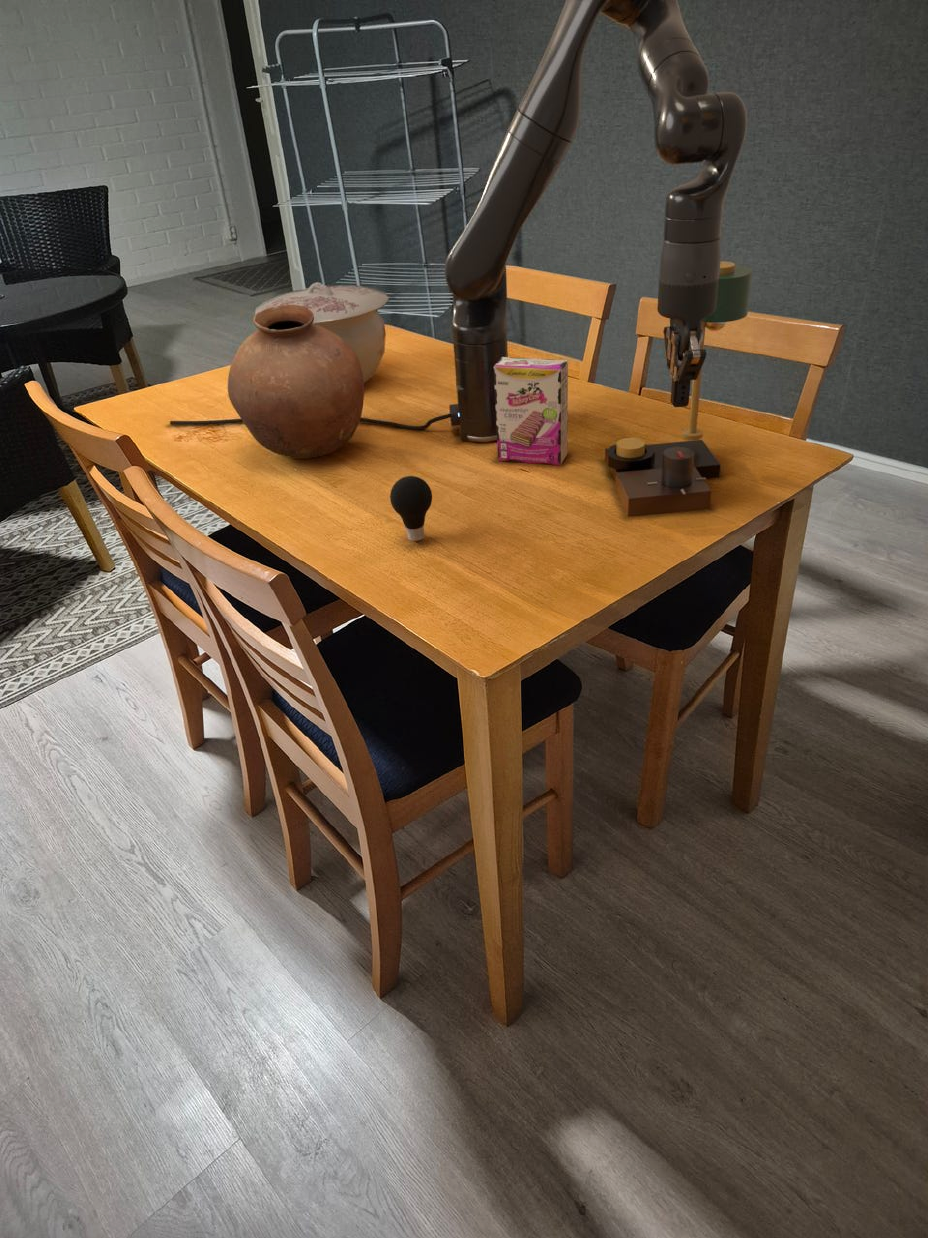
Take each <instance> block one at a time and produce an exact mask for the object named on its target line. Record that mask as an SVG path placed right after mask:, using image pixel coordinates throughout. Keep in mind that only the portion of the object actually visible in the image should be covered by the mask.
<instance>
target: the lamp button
mask: <svg viewBox="0 0 928 1238" xmlns="http://www.w3.org/2000/svg"><path fill="white" fill-rule="evenodd" d="M615 444H616V455H618V456H620V457H625V458H637V457H641V456H643V455H644V454H645V444H646V441H644V440H643V439H641V438H638V437H625V438H621V439H618V440H617V441H616V443H615Z"/></svg>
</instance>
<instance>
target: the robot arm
mask: <svg viewBox="0 0 928 1238" xmlns="http://www.w3.org/2000/svg"><path fill="white" fill-rule="evenodd" d="M600 14H601V15H603V16H605V17H607V18H608V19H609V20H611V21H612V22H614V23H616V24H617V25H620V26H623V27H625V28H627V29H628V30H629V31H630V32H631V33H632V34H633V35H634V37H636V39H637V40H638V41H639V45H638V49H637V55H636V58H637V59H636V64H637V71H638V75H639V77H640V80H641V82H642V85H643V87H644V89H645V91H646V93H647V95H648V98H649V99H650V102H651V106H652V113H653V123H654V124H653V126H654V127H653V128H654V129H653V137H654V138H653V139H654V148H655V151H656V153H657V155H658V156H659V158H661V160H663V161H664V162H665V163H668V164H670V165H675V166H676V165H677V166H681V165H690V164H698V163H703V166H702V167H701V170H700V171H699V174H698V175H697V176H696V177H695V178H694V179H692V180H689V181H688V182H686V183H683V184H680V185H677V186H676V187H674V188H671V189H670V191H669V192H668V193H667V195H666V198H665V206H664V223H663V239H662V246H661V251H660V257H659V258H660V259H659V274H658V290H657V291H658V292H657V293H658V294H657V307H656V309H657V313H658V314H659V315H660V316H662V317H663V318H665V319H669V325H668V326H664V327H663V331H662V332H663V338H664V347H665V357H666V367H667V369H668V370H669V376H670V378H671V388H670V401H669V402H670V403H671V406H673V407H674V408H685V407H688V406H689V404H690V394H691V393H690V392H691V383H692V381H693V380H696V379H697V377H698V375H699V372H700V370H701V368H702V369H703V365H704V363H705V360H706V358H707V355H708V354H707V350H706V348H704V349H700V345H701V343H702V341H703V329H701V323H700V322H701V320H702V319H703V318H705V317H708V316H710V315H712V314H713V313H714V312H715V310H716V304H717V294H718V283H719V273H720V262H721V260H722V259H721V258H722V248H721V244H722V243H721V242H722V241H721V240H722V239H721V238H722V228H723V218H724V208H725V207H724V206H725V201H726V197H727V193H728V190H729V187H730V184H731V181H732V178H733V175H734V171H735V168H736V165H737V162H738V160H739V157H740V155H741V152H742V149H743V146H744V143H745V140H746V135H747V130H748V113H747V112H748V111H747V107H746V105H745V102H744V100H743V99H742V97H740V95H738V94H737V93H736V92H731V91H721V92H712V93H709V89H710V76H709V72H708V68H707V67H706V65H705V63H704V61H703V59H702V57H701V54H700V53H699V51H698V49H697V47H696V45H695V44H694V42H693V40H692V38H691V36H690V34H689V32H688V30H687V28H686V25H685V23H684V21H683V17H682V13H681V9H680V6H679V2H678V0H565V3H564V5H563V8H562V10H561V13H560V15H559V18H558V20H557V23H556V26H555V27H554V30H553V33H552V35H551V38H550V40H549V43H548V44H547V47H546V49H545V51H544V54H543V56H542V58H541V60H540V63H539V65H538V67H537V69H536V70H535V72H534V75H533V78H532V79H531V82H530V84H529V85H528V88H527V90H526V91H525V93H524V96H523V97H522V99H521V100H520V103H519V105H518V107H517V108H516V111H515V114H514V116H513V117H512V120H511V122H510V123H509V126H508V128H507V130H506V132H505V135H504V137H503V140H502V141H501V142H502V143H501V144H500V147H499V149H498V151H497V154H496V156H495V159H494V162H493V165H492V167H491V170H490V173H489V176H488V179H487V180H486V184H485V187H484V189H483V193H482V195H481V198H480V200H479V203H478V204H477V206H476V208H475V210H474V212H473V214H472V216H471V218H470V219H469V221H468V222H467V225H466V226H465V228H464V230H463V231H462V233H461V234H460V236H459V238H458V239H457V241H456V242H455V243H454V245H453V246H452V247H451V249H450V251H449V252H448V253H447V256H446V259H445V262H444V278H445V282H446V285H447V287H448V289H449V291H450V292H451V293H452V319H451V334H452V344H453V345H452V346H453V356H454V357H453V358H454V367H455V368H454V369H455V371H454V372H455V387H456V400H457V401H456V402H457V403H453V404H449V413H446V414H442V415H439V416H435V417H433V418H431V419H429V420H428V421H427V422H426V423H425V424H424V425H414V426H413V425H407V424H403V423H398V422H393V421H387V420H380V419H373V418H367V417H361V419H360V421H359V423H361V422H362V423H368V424H374V425H382V426H387V427H394V428H399V429H402V430H403V429H404V430H409V431H424V430H426V429H428V428H429V427H430V426H431V425H432V424H434V423H436V422H440V421H443V420H447V419H450V425H451V427H456V426H459V436H460V441H462V442H466V441H469V442H474V443H489V442H495V441H496V442H497V425H496V405H495V383H494V366H495V364H496V363H498V361H499V360H500V359H501V358H502V357H509V351H508V329H507V327H508V325H507V324H508V283H507V282H508V279H507V260H508V258H509V255H510V254H511V250H512V248H513V246H514V244H515V241H516V239H517V237H518V234H519V233H520V231H521V228H522V227H523V225H524V224H525V222H526V220H527V218H528V217H529V215H530V214H531V213H532V211H533V209H534V208H535V207H536V205H537V204H538V202H539V201H540V200H541V198H542V197H543V195H544V193H545V191H547V188H548V187H549V185H550V183H551V181H552V180H553V179H554V177H555V176H556V174H557V172H558V170H559V169H560V167H561V166H562V162H563V161H564V159H565V158H566V155H567V153H568V151H569V149H570V148H571V146H572V143H573V142H574V140H575V138H576V136H577V133H578V131H579V128H580V124H581V116H582V100H583V99H582V97H583V96H582V93H583V66H584V58H585V53H586V49H587V45H588V42H589V40H590V37H591V34H592V31H593V28H594V27H595V25H596V22H597V19H598V18H599V16H600ZM241 423H244V422H243V421H242V419H241V418H232V419H231V418H229V419H215V420H214V419H213V420H169V424H170V425H171V426H173V425H174V426H205V425H224V424H241Z"/></svg>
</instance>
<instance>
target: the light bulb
mask: <svg viewBox="0 0 928 1238" xmlns="http://www.w3.org/2000/svg"><path fill="white" fill-rule="evenodd" d="M389 495H390V496H389V497H390V498H389V500H390V504H391V506H392V508H393V510H394V511H395V512H396V514H398V515H399V516H400V518H401V521H402V523H403V525H404V527H405V529H406V536H407V539H408V540H409V541H411V542H413V543H419V542H420V541H421V540H423V538H424V537H425V529H424V526H425V521H426V516H427V512H428V511H429V509H430V508H431V507H432V506H431V505H432V503H433V492H432V489H431V487H430V485H429V484H428V483H427V482H426V480H424V479H423V478H421V477H419V476H415V475H407V476H403V477H401V478H399V479H398V480H397V481H396V482H395V483H394V484H393V485H392V487H391V490H390V494H389Z"/></svg>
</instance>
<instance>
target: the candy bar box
mask: <svg viewBox="0 0 928 1238" xmlns="http://www.w3.org/2000/svg"><path fill="white" fill-rule="evenodd" d="M494 383H495V405H496V425H497V440H496V445H497V447H496V448H497V461H500V462H501V461H502V462H513V463H523V464H524V463H527V464H537V465H548V466H549V465H550V466H562V464H563V462H564V461H565V459H566V457H567V455H568V450H569V448H568V447H569V446H568V445H569V443H568V438H569V437H568V429H569V428H568V422H569V421H568V419H569V417H568V415H569V413H568V411H569V409H568V408H569V403H568V402H569V401H568V400H569V399H568V397H569V394H568V393H569V361H568V360H567V359H553V358H552V359H551V358H530V357H512V356H510V357H509V356H508V357H502V358H501V359H500V360H499V361H498V363H496V364H495V366H494Z"/></svg>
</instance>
